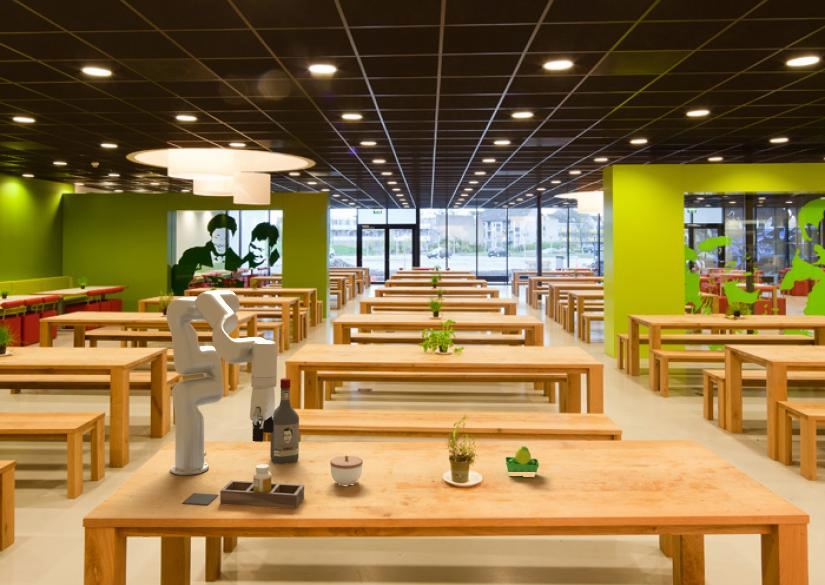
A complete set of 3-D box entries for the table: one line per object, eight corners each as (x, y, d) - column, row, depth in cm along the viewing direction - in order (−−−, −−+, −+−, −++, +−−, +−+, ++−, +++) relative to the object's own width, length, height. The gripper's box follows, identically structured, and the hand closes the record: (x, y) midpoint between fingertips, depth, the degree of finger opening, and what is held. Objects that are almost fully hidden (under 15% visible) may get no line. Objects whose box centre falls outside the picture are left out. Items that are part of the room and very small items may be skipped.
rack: (231, 493, 213) (231, 480, 213) (304, 498, 211) (304, 484, 211) (220, 504, 204) (220, 490, 204) (296, 509, 202) (296, 495, 202)
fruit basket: (536, 472, 241) (538, 441, 240) (539, 480, 232) (540, 448, 232) (504, 470, 242) (505, 439, 242) (505, 478, 234) (506, 446, 233)
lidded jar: (357, 490, 219) (357, 461, 218) (325, 487, 221) (326, 459, 220) (365, 479, 229) (366, 452, 229) (335, 476, 232) (336, 449, 231)
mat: (193, 494, 212) (193, 493, 212) (218, 495, 211) (218, 494, 211) (182, 503, 204) (182, 502, 204) (207, 505, 203) (207, 504, 203)
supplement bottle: (272, 493, 210) (272, 463, 210) (269, 500, 205) (269, 468, 204) (255, 493, 210) (255, 463, 210) (251, 500, 205) (252, 468, 204)
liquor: (269, 457, 250) (270, 377, 248) (293, 455, 254) (294, 376, 252) (274, 465, 242) (275, 382, 240) (299, 462, 246) (301, 380, 244)
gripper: (261, 375, 214) (260, 428, 215) (242, 386, 197) (241, 444, 198) (284, 376, 213) (283, 430, 215) (267, 387, 196) (266, 445, 197)
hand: (263, 436), depth 206 cm, fingers open, 9 cm apart
